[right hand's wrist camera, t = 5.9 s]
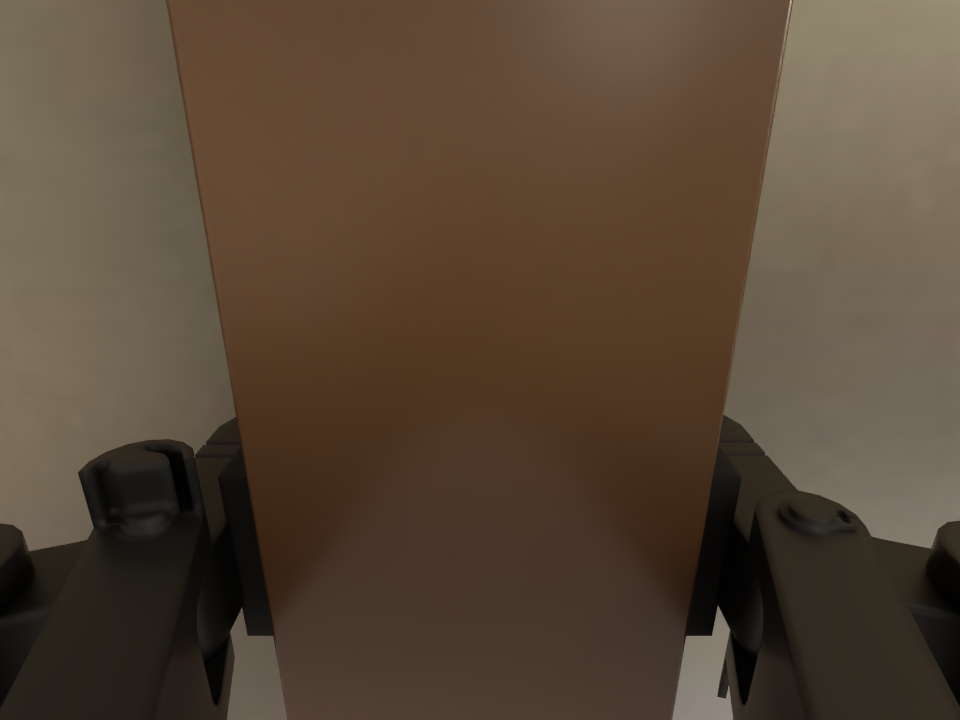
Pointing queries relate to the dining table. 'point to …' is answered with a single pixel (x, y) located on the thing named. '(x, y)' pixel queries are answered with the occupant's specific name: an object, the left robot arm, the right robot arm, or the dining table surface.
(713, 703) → the dining table surface
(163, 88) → the dining table surface
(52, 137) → the dining table surface
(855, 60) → the dining table surface
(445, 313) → the bar
